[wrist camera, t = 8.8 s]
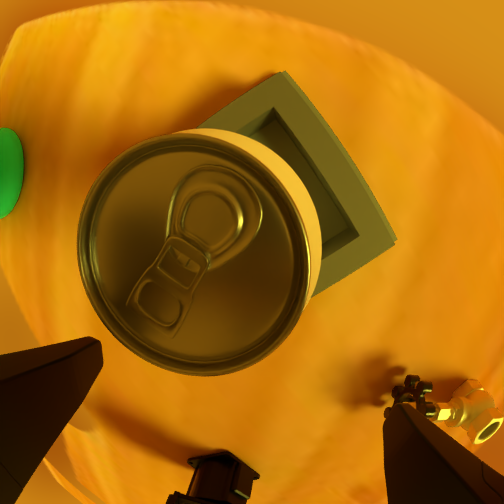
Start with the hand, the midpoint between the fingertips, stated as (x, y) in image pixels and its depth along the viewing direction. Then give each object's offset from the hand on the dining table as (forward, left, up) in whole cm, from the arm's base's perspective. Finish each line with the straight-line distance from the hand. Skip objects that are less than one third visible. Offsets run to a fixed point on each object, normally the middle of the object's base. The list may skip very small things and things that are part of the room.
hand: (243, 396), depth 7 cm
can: (+1, +4, -12) cm, 12 cm away
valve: (+7, -20, -13) cm, 25 cm away
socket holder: (+2, +4, -13) cm, 13 cm away
